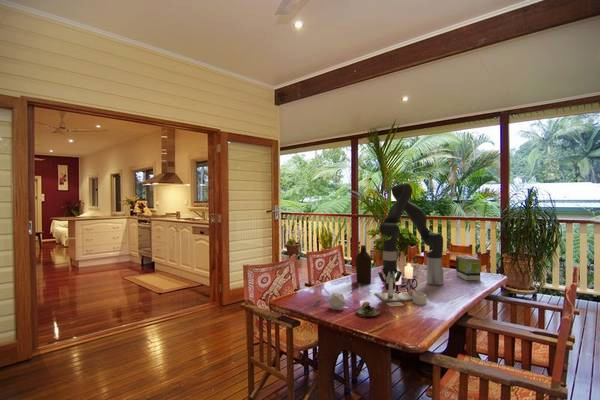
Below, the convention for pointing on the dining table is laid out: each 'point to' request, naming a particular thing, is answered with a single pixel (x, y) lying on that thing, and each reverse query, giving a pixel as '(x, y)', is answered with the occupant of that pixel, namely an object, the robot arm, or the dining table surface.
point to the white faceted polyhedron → (337, 301)
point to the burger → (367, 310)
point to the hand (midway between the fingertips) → (390, 289)
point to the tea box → (468, 267)
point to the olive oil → (363, 266)
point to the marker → (390, 286)
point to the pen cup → (419, 298)
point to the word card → (395, 304)
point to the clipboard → (395, 297)
